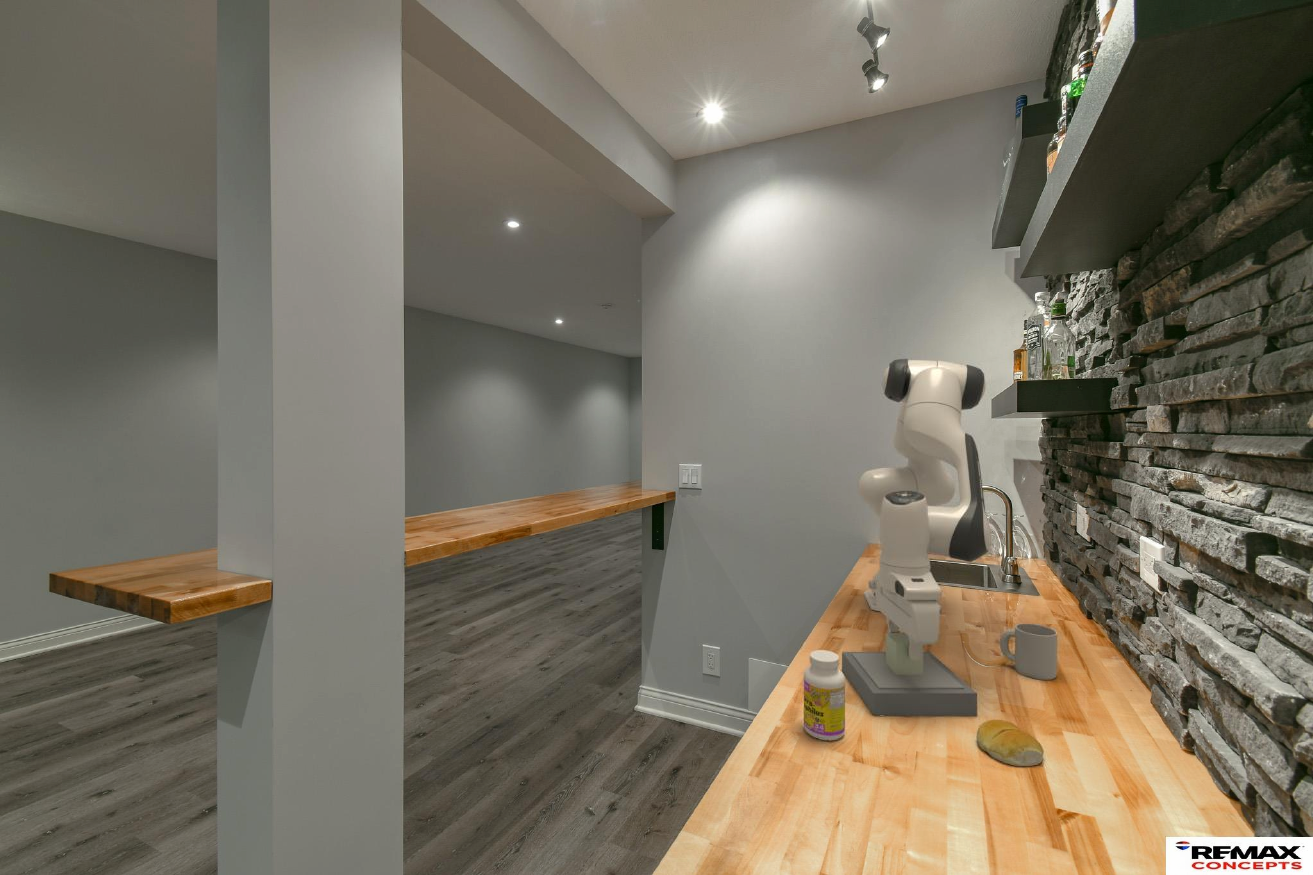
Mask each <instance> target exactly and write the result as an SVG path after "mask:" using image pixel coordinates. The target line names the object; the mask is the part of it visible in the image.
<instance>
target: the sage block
mask: <svg viewBox="0 0 1313 875" xmlns="http://www.w3.org/2000/svg"><path fill="white" fill-rule="evenodd" d="M909 645H910V641H909V636H908V635H906V634H905V633H904V632H900V633H889V632H885V652H886V664H887V665H888V667H889V668H890V669H891V670H892V671H893V672H894V673H895V674H896V675H923V652H924V645H923V646H922V648H921V650H920V659H919V660H911V659H910V658H909V657H908V656H907V647H909Z"/></svg>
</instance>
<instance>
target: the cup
mask: <svg viewBox="0 0 1313 875" xmlns="http://www.w3.org/2000/svg"><path fill="white" fill-rule="evenodd" d="M1011 638H1014V653H1012V652H1011V651H1010V647H1009V641H1010V639H1011ZM999 648H1000V651H1001V653H1002V656H1004V657H1005V659H1006V660H1009V661H1010V662H1013V663H1014V668H1015V670H1016V671H1017V673H1018V674H1021V675H1022V676H1024V677H1027V678H1029V679H1035V680H1040V681H1051V680H1054V679H1055V678H1056V677H1057V676H1058V631H1057V630H1055V629H1054V628H1052V627H1050V626H1045V625H1042V624H1036V623H1030V622H1029V623H1027V622H1026V623H1025V622H1023V623H1022V622H1021V623H1016V624H1015V626H1014V629H1012V628H1011V629H1006V630H1004V631H1003V632H1002V633H1001V635H1000V638H999Z"/></svg>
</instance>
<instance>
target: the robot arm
mask: <svg viewBox="0 0 1313 875" xmlns="http://www.w3.org/2000/svg"><path fill="white" fill-rule="evenodd" d="M881 385H882V389H883V394H884V395H885V397H886V398H887V399H888V400H891V401H893V402H896V403H900V402H901V405H900V409H899V412H898V416H897V420H896V421H897V422H896V426H895V431H894V436H893V440H892V441H893V446H894V449H895V450H896V452H898V453H897V454H900V455H901V456H903V457H904V458H906V459H907V465H906V466H904V467H903V466H902V467H899V466H898V467H880V468H875V469H874V468H873V469H871V470H867V471H864V473H863V474H862V475H861V477H860V478H859V480H858V485H857V489H858V494H859V497H860V500H861V501H862V502H863V503H864V504H865V505H866V506H868V507H869V508H870V509H871V510H872V511H873V512H874V513H875V514H876V516H877V517H878V520H879V529H878V530H879V531H878V533H879V534H878V537H879V538H878V539H879V542H880V544H881V545H880V546H881V551H880V555H879V558H878V561H879V562H878V563H879V565H878V566H879V569H878V571H877V573H876V574H874V575H873V576H872V580H869V581H868V588H869V589H868V590H864V592H863V596H864V598H865V600H866V602H867V604H868V606H869V608H870V610H872V611H876V612H880V613H881V614H883V615H884V616H885V617H886V624H887V628H888V633H901V631H902V633H905V634H906V635H908V636H909V641H910V645H909V647H907V656H908V657H909V658H910V659H911V660H919V659H920V650H921V648H922V646H923V647H924V645H925V646H927V645H936V643H937V642H938V640H939V637H940V624H941V623H940V621H941V620H940V618H941V616H940V614H941V613H940V611H942V606H941V604H939V602H938V601H940V600H942V598H943V597H942V596H943V591H942V588H941V587H940V586H939V584H938V583H937V581H936V580H935V578H934V575H933V574H932V572H931V569H932V568H931V560H930V558H929V555H933V556H941V557H947V558H948V557H949V558H950V559H956V560H958V561H959V560H960V561H962V562H969V563H971V562H973V561H976V560H978V559H980V558H982V557H983V556H985V555H986V554H987V553H988V552H989V549H990V546H991V543H992V533H991V527H990V523H989V520H988V518H987V513H986V508H985V506H986V505H985V498H984V496H985V495H984V490H983V480H982V473H981V464H980V459H979V452H978V448H977V444H976V441H975V439H974V437H973V436H972V434H969V433H967V432H965V430H964V429H963V427H962V424H961V423H962V422H961V417H962V411H965V410H972V409H973V408H975V407H977V406H978V405H979V404H980V402H981V400H982V399H983V397H984V395H985V391H986V386H987V385H986V378H985V372H983V370H982V369H981V368H979V367H977V366H974V365H969V364H966V365H965V364H959V363H956V362H951V361H944V360H926V359H925V360H924V359H912V360H911V359H908V358H899V359H893V361H892V362H891V361H890V362H889V365H888V367H886V369H885V371H884V373H883V375H882V383H881ZM941 461H942V462H944V463H947V464H949V465H950V466H952V467H953V468H954V469H956V471H957V478H958V481H957V482H958V490H959V498H960V499H959V500H960V503H959V505H957V506H954V507H953V506H952V507H951V506H949V507H948V506H941V505H945V504H948V503H950V502H951V500H952V499H953V498H954V495H955V492H956V483H955V480H954V477H953V476H952V474H951V473H950V472H949V471H948V470H946V469H945V467H944V466H943V464H942V462H941ZM900 630H901V631H900Z"/></svg>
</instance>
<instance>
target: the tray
mask: <svg viewBox="0 0 1313 875" xmlns="http://www.w3.org/2000/svg"><path fill="white" fill-rule="evenodd" d="M841 672H842V673H843V672H844V673H843V674H844V676H845V678H846V679H847V678H848V679H847V680H848V681H849V683H850V682H851V683H850V684H851V686H852V685H853V686H854V687H853V686H852V687H853V688H855V689H854V690H855V691H856V693H857V692H858V693H857V694H858V696H859V695H860V696H859V697H860V699H861V700H862V701H863V703H864V704H865V705H866V707H867V709H868V710H869V711H870V713H871V714H872V716H875V717H878V716H879V717H881V716H880V715H884V716H883V717H887V716H889V717H893V716H895V717H899V716H900V717H903V716H904V717H909V716H910V717H916V716H917V717H919V716H920V717H922V716H923V717H927V716H928V717H940V716H941V717H942V716H943V717H945V716H946V717H949V716H950V717H951V716H952V717H958V716H959V717H960V716H961V717H973V716H974V717H975V716H976V717H977V716H978V692H976V690H975V689H973V688H972V687H971V686H969V685H968V684H967V683H966V682H965V681H964V680H963V679H962V678H961V677H960V676H958V675H957V674H956V673H955V672H954V671H952V670H951V668H949V667H948V666H947V665H946V664H944V663H943V662H942V661H941V660H940V659H939V658H938V657H937V656H936V655H934V654H933V653H932V652H931V651H923V675H896V674H895V673H894V672H893V671H892V670H891V669H890V668H889V667H888V665H887V664H886V651H841Z"/></svg>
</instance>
